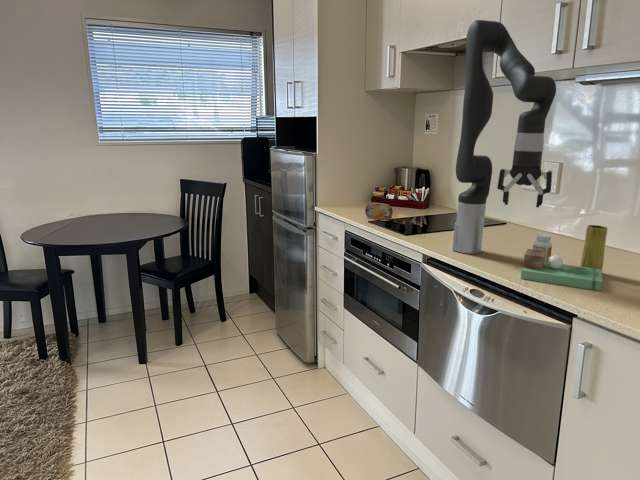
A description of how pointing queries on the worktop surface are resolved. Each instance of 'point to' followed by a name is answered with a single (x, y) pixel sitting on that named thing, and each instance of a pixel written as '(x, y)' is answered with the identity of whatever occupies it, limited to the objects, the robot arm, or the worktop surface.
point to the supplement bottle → (543, 245)
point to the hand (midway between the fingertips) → (521, 205)
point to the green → (566, 276)
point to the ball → (555, 262)
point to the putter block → (534, 259)
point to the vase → (594, 247)
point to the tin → (379, 211)
